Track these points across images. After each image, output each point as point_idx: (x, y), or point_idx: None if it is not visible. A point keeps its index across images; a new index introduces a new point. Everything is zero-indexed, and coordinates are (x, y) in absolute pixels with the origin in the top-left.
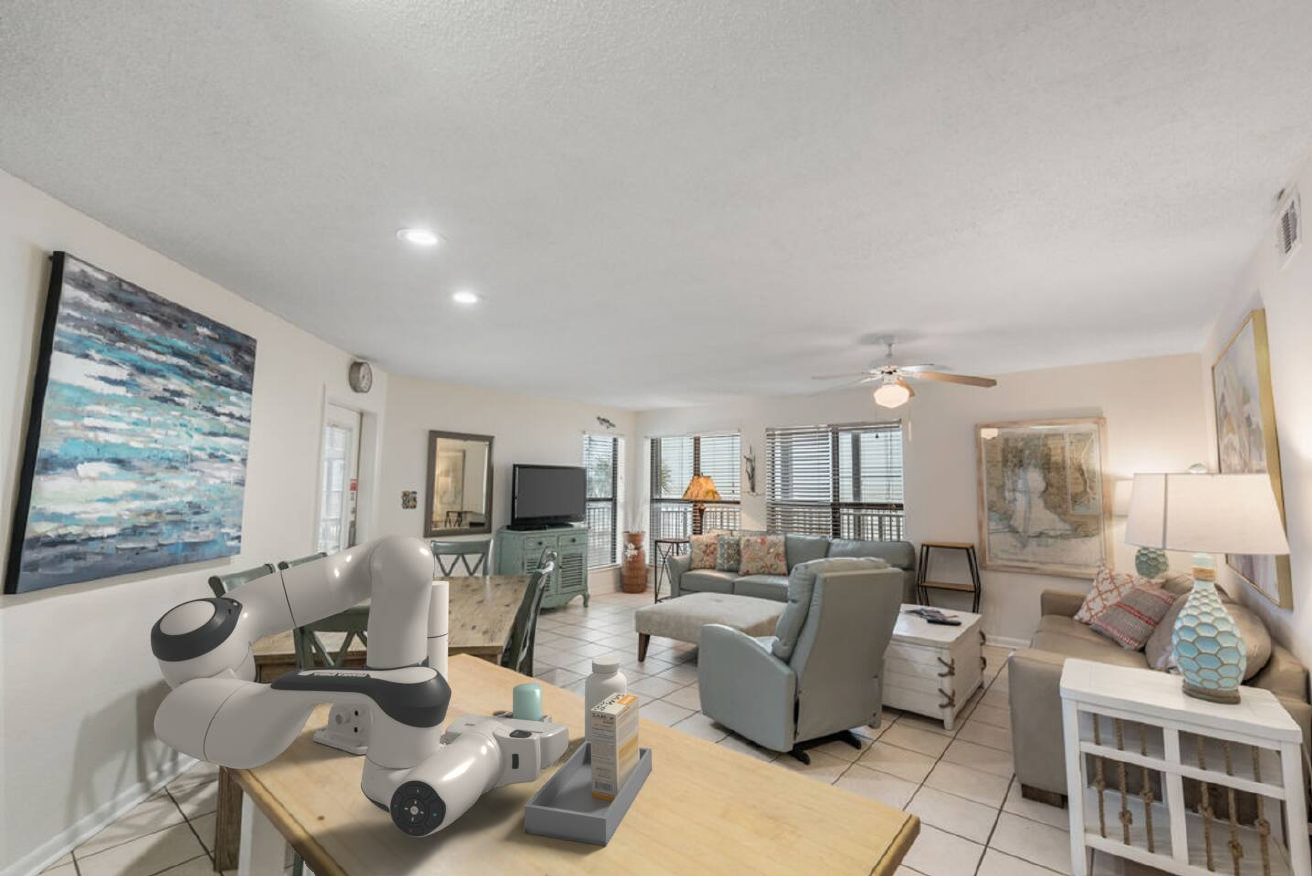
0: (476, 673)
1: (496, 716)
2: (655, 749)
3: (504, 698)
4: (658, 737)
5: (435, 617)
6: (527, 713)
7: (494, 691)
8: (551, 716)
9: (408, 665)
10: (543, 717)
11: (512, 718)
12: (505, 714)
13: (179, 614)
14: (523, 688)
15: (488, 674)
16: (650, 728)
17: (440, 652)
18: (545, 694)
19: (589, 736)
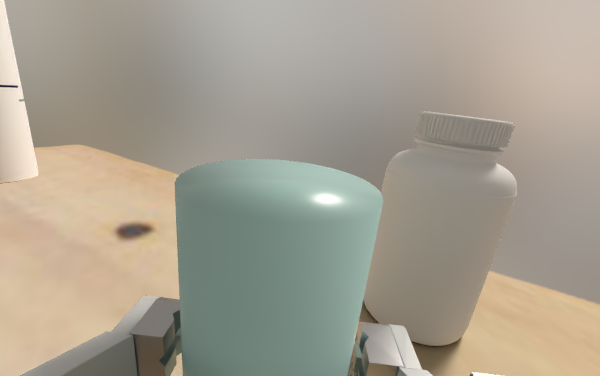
0: (97, 162)
1: (50, 373)
2: (545, 331)
3: (141, 199)
4: (494, 288)
5: None
6: (315, 369)
7: (123, 187)
8: (403, 328)
9: None
10: (383, 350)
11: (176, 335)
12: (129, 332)
13: None
14: (257, 186)
15: (116, 164)
16: None
17: (3, 117)
18: None
19: (406, 316)
